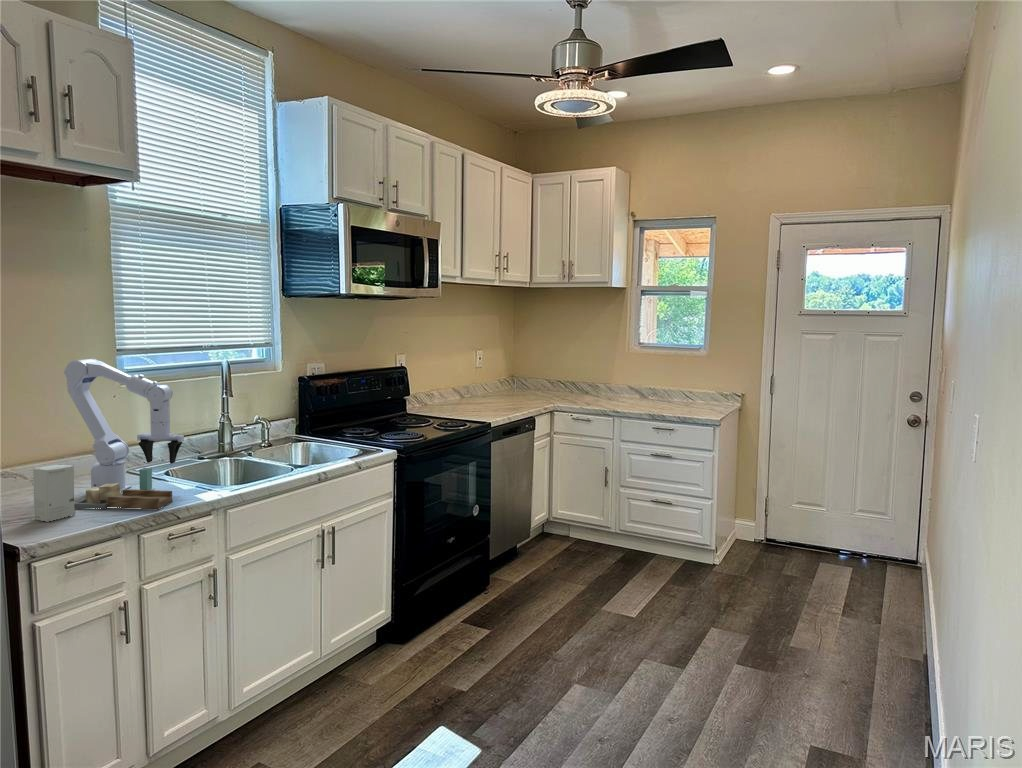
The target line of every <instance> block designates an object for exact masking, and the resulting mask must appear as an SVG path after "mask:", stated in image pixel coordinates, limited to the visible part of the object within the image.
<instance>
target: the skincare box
mask: <svg viewBox="0 0 1022 768" xmlns="http://www.w3.org/2000/svg"><path fill="white" fill-rule="evenodd" d="M32 471H33V472H32V473H33V475H32V477H33V516H34V517H33V518H34V521H35V520H36V521H40V522H43V521H47V522H46V523H50V522H49V521H51V522H54V521H53V520H55V521H57V520H56V519H58V520H61V519H60V518H62V519H65V518H69V517H68V516H70V517H72V516H71V515H74V516H75V515H76V513H75V509H74V503H75V476H74V475H75V470H74V465H70V464H61V463H60V464H54V465H52V464H51V465H46V466H41V467H40V466H39V467H35V468H33V469H32ZM64 517H65V518H64Z"/></svg>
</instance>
